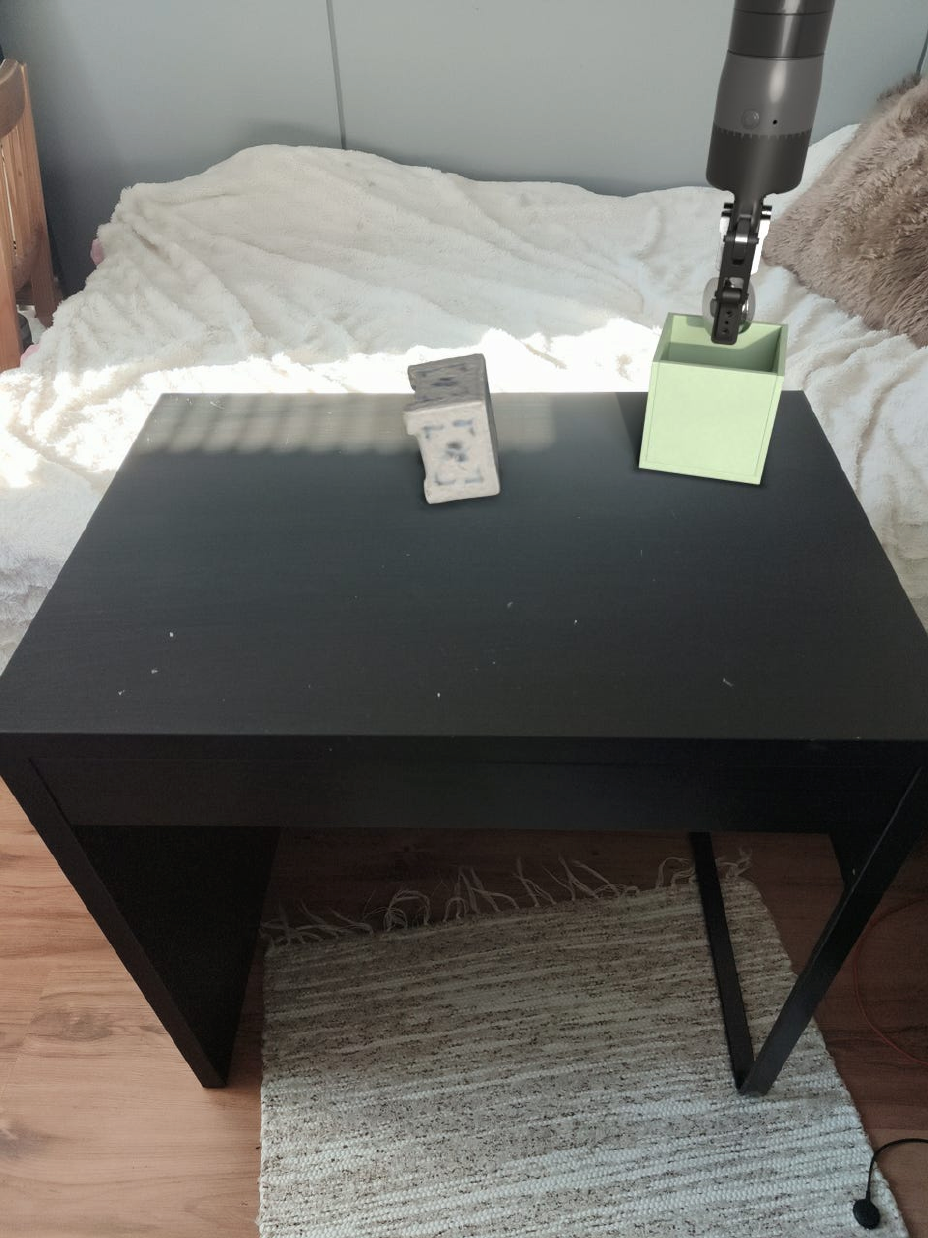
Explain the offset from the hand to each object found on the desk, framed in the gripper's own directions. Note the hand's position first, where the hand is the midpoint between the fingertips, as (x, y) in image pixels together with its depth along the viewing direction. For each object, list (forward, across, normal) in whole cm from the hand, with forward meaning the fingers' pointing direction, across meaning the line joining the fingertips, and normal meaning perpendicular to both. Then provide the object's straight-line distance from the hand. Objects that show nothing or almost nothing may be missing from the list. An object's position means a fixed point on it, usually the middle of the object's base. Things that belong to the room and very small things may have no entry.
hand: (726, 327), depth 81 cm
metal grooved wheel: (+1, 0, 0) cm, 1 cm away
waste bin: (+12, 0, 0) cm, 12 cm away
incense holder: (+12, -12, +22) cm, 28 cm away
